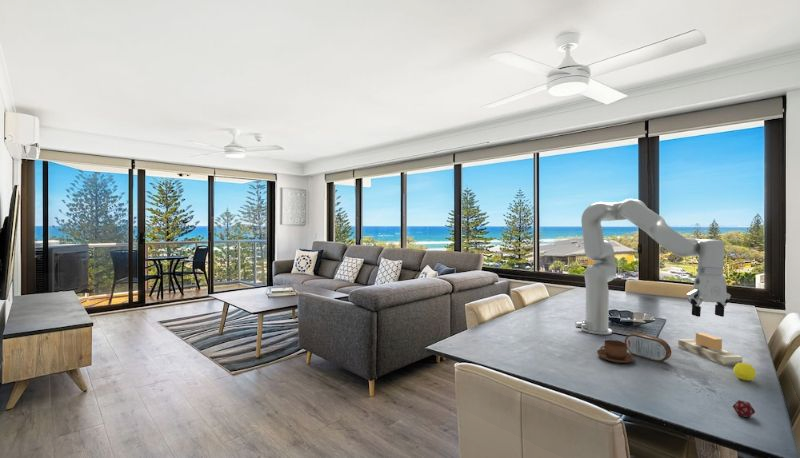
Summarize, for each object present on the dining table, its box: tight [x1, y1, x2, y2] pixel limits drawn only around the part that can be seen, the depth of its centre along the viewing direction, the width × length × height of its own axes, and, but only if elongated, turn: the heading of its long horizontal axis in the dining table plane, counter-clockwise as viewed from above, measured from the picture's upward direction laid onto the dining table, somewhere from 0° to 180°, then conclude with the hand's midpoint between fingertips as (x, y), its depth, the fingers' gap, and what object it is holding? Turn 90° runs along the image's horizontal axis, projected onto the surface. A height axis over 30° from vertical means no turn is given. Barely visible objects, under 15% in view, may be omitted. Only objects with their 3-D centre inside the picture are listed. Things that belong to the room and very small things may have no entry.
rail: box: [677, 338, 743, 366], centre depth 144 cm, size 20×7×3 cm, turn 5°
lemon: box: [733, 362, 757, 381], centre depth 122 cm, size 7×5×5 cm
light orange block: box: [695, 332, 723, 352], centre depth 144 cm, size 8×3×8 cm, turn 5°
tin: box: [624, 332, 672, 363], centre depth 141 cm, size 15×3×8 cm, turn 34°
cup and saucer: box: [596, 339, 635, 364], centre depth 139 cm, size 12×12×6 cm
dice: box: [732, 399, 756, 419], centre depth 98 cm, size 4×4×4 cm
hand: (707, 315), depth 144 cm, fingers open, 9 cm apart
